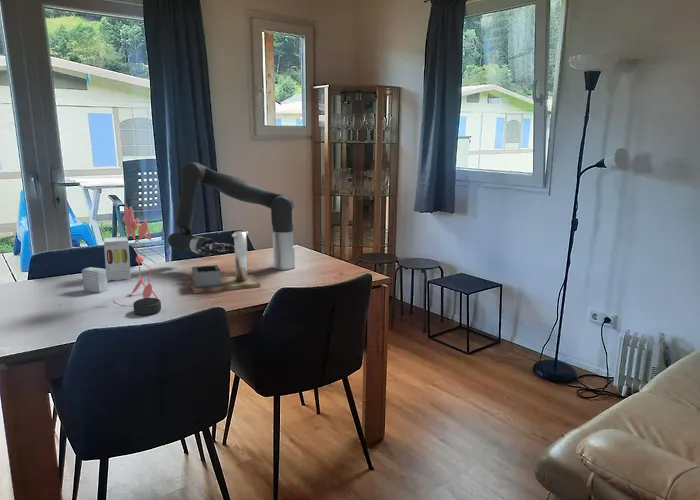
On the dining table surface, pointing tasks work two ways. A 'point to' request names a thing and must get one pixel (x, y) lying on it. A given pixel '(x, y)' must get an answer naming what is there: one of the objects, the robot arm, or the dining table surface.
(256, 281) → the stand board
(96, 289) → the white paper stack
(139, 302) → the smart speaker
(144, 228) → the figurine
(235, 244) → the silver flared cylinder
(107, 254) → the supplement box
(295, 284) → the dining table surface
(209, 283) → the box
